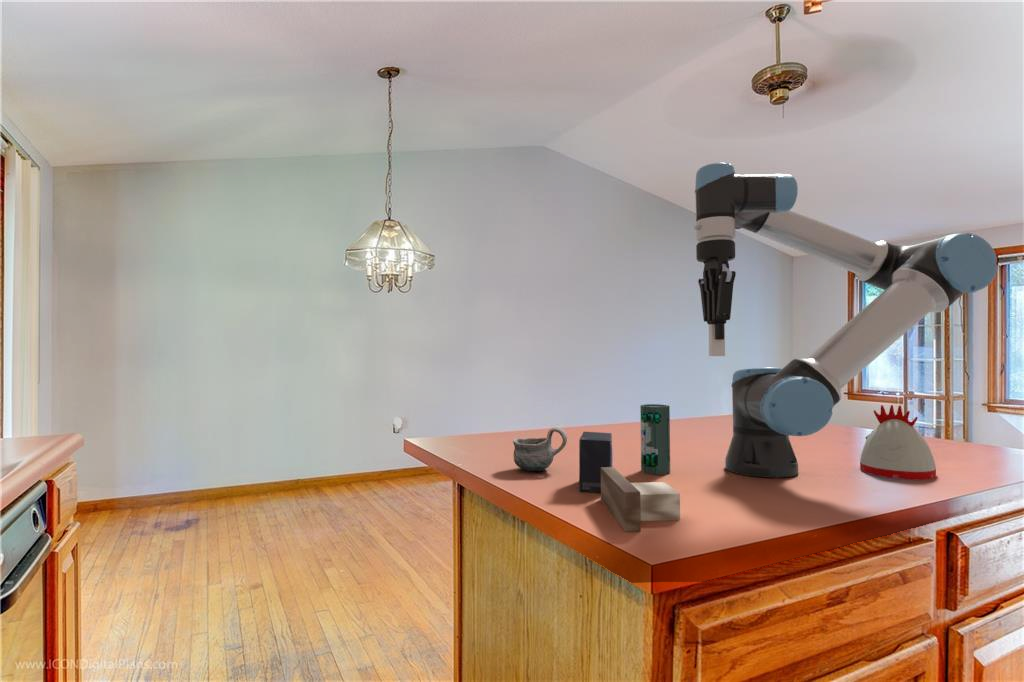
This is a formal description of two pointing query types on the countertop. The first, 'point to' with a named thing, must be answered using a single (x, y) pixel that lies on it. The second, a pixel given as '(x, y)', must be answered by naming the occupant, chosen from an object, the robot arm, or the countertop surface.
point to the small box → (593, 459)
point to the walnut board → (621, 499)
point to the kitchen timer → (897, 449)
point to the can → (655, 439)
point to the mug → (537, 451)
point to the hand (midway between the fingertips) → (717, 355)
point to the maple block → (658, 501)
